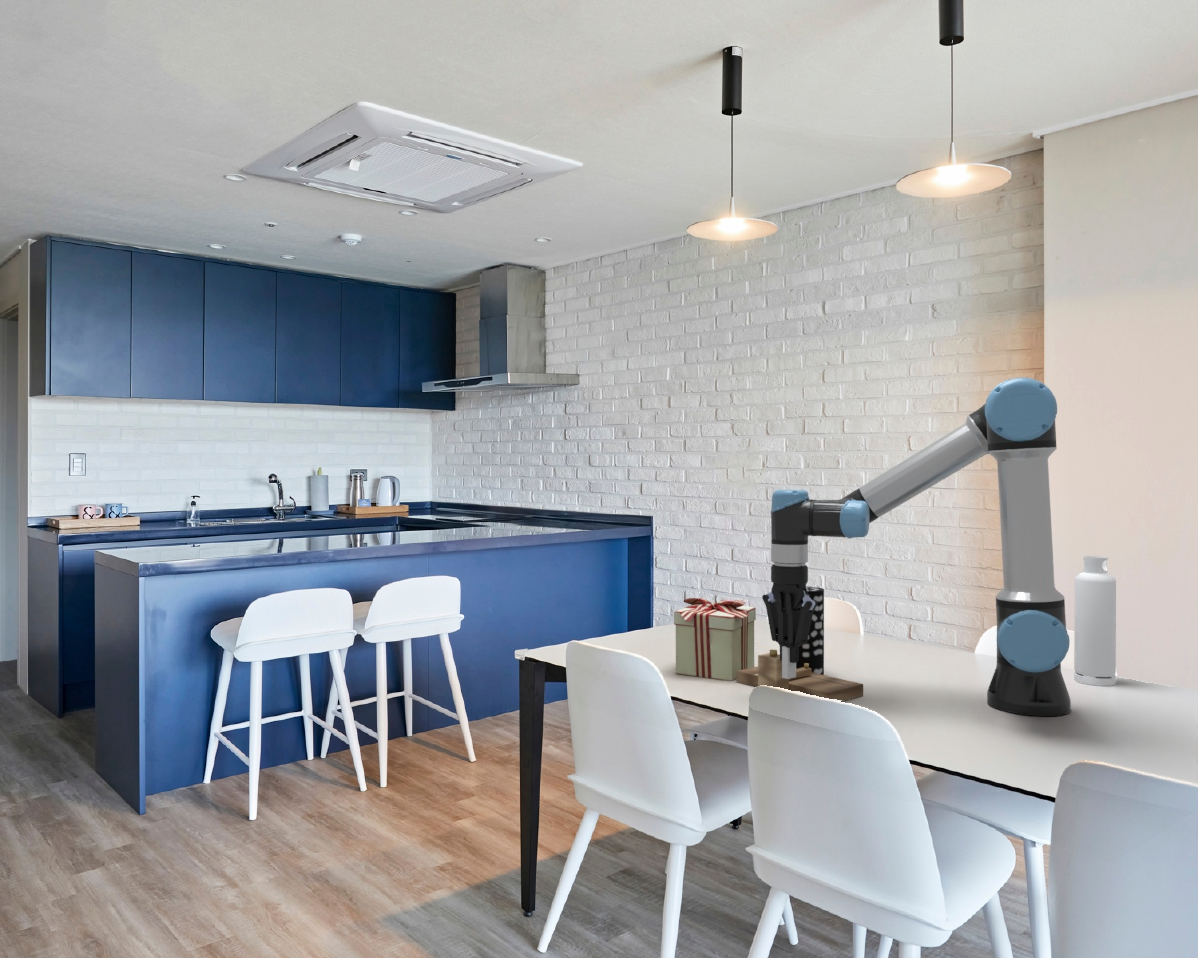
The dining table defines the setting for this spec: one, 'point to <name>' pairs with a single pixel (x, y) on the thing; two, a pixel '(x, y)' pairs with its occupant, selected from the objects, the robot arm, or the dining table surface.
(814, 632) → the spotted tube
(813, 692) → the board
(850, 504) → the robot arm
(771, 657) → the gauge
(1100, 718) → the dining table surface
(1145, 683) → the dining table surface
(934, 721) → the dining table surface
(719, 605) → the gift box
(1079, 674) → the bottle
